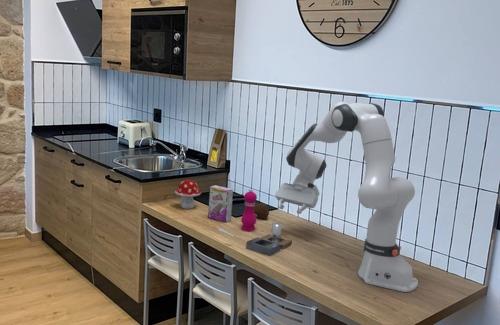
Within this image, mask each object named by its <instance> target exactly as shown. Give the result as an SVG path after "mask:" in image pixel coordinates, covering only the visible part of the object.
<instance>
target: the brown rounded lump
mask: <svg viewBox="0 0 500 325" xmlns="http://www.w3.org/2000/svg"><path fill="white" fill-rule="evenodd" d="M254 213H255V216H256V217H257V218H259V219H261V220H266V219H267V218H268V217H269V215H270V208H269V207H268V205H266V203H264V202H261V203H255V206H254Z"/></svg>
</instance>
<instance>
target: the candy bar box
mask: <svg viewBox="0 0 500 325" xmlns="http://www.w3.org/2000/svg"><path fill="white" fill-rule="evenodd" d="M233 195H234V189H232V188H228V187H224V186H220V185H216V184H215V185H212V186H210V187H209V197H208V198H209V199H208V214H207V215H208V217H207V218H208V219H211V220H216V221H219V222H223V223H228V222H230V221H232V210H233V198H234V197H233Z"/></svg>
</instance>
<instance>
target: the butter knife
mask: <svg viewBox="0 0 500 325" xmlns="http://www.w3.org/2000/svg"><path fill="white" fill-rule="evenodd" d="M217 231H219V232H221V233H224V234H227V235H229V236H231V237H235V235H233V234H232V233H230V232H228V231H226V230H225V229H223V228H218V229H217Z"/></svg>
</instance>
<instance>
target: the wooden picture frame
mask: <svg viewBox="0 0 500 325" xmlns="http://www.w3.org/2000/svg"><path fill="white" fill-rule="evenodd" d="M271 236H272V233H271V234H270V233H269V234H267V235H264V236H261V237H260V238H262V239H265V240H269V241H271ZM272 242H273V241H272ZM276 243H277V242H276ZM279 244H281V246H280V251H281V250H284V249H286V248H288V247H290V246H292V245H293V240H291V239H288V238H284V237H280V242H279Z"/></svg>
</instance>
